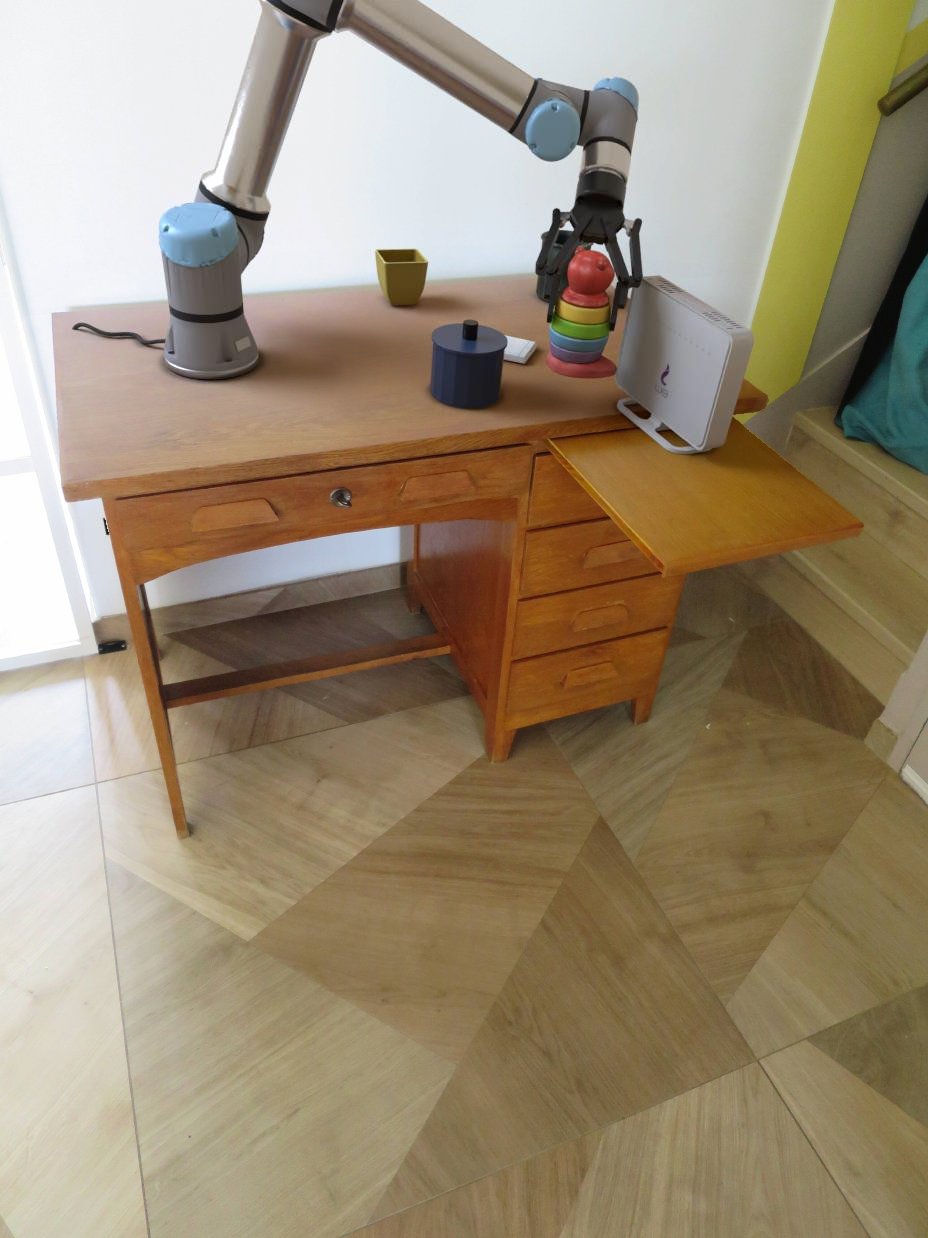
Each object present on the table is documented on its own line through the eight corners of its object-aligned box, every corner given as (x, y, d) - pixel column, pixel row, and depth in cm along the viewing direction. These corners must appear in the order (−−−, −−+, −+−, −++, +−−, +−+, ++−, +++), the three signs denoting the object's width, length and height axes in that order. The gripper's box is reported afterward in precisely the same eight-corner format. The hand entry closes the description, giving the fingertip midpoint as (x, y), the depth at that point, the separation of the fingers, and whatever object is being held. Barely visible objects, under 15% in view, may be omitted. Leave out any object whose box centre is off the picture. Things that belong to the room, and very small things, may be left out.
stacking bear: (621, 375, 139) (643, 259, 127) (568, 384, 134) (586, 265, 123) (582, 349, 146) (601, 237, 134) (531, 357, 142) (545, 242, 130)
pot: (424, 403, 142) (427, 349, 136) (437, 374, 150) (440, 323, 145) (494, 412, 141) (500, 359, 135) (502, 383, 150) (508, 332, 144)
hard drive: (458, 342, 158) (524, 355, 156) (473, 327, 164) (536, 340, 162) (458, 351, 159) (523, 364, 157) (472, 335, 165) (535, 348, 163)
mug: (588, 292, 189) (598, 234, 181) (577, 315, 178) (586, 254, 170) (539, 284, 191) (546, 226, 183) (525, 306, 180) (532, 245, 172)
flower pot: (373, 294, 178) (374, 248, 173) (415, 292, 181) (417, 247, 175) (383, 310, 172) (384, 262, 166) (426, 308, 174) (429, 261, 169)
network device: (600, 394, 149) (622, 274, 137) (643, 388, 152) (669, 271, 140) (686, 467, 132) (721, 337, 119) (733, 459, 135) (772, 331, 122)
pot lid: (424, 353, 136) (425, 330, 134) (438, 325, 146) (439, 303, 143) (502, 364, 135) (504, 341, 133) (510, 335, 145) (513, 313, 142)
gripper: (668, 205, 138) (648, 342, 135) (531, 189, 139) (510, 324, 137) (677, 176, 130) (656, 321, 128) (533, 159, 132) (509, 302, 129)
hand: (580, 322), depth 132 cm, fingers closed on stacking bear, 9 cm apart
